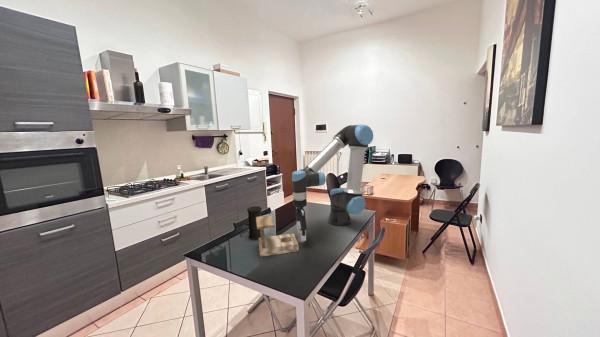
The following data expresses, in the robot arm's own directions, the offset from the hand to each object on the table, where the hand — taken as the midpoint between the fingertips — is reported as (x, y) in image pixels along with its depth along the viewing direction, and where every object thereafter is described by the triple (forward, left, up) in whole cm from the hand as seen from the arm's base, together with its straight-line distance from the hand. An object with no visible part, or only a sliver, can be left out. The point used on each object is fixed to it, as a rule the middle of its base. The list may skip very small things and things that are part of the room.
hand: (301, 236), depth 139 cm
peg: (0, 0, -3) cm, 3 cm away
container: (+25, -14, -3) cm, 29 cm away
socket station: (+14, +4, -3) cm, 15 cm away
